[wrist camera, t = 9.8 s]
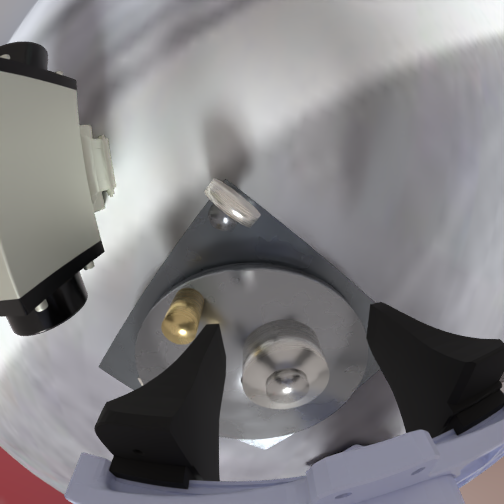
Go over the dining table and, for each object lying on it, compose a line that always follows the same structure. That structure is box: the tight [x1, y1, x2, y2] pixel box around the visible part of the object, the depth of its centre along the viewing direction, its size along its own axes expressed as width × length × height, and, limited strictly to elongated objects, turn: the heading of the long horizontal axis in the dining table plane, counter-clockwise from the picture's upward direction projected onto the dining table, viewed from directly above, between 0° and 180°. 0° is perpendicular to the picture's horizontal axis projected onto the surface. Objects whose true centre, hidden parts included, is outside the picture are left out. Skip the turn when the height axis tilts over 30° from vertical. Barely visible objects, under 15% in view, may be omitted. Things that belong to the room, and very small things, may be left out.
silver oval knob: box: [204, 178, 261, 231], centre depth 14 cm, size 3×2×4 cm, turn 52°
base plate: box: [99, 179, 380, 450], centre depth 20 cm, size 19×19×1 cm
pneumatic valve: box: [0, 42, 116, 336], centre depth 9 cm, size 6×12×12 cm, turn 9°
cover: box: [242, 320, 330, 409], centre depth 15 cm, size 5×5×4 cm
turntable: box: [135, 263, 368, 440], centre depth 17 cm, size 17×17×4 cm
